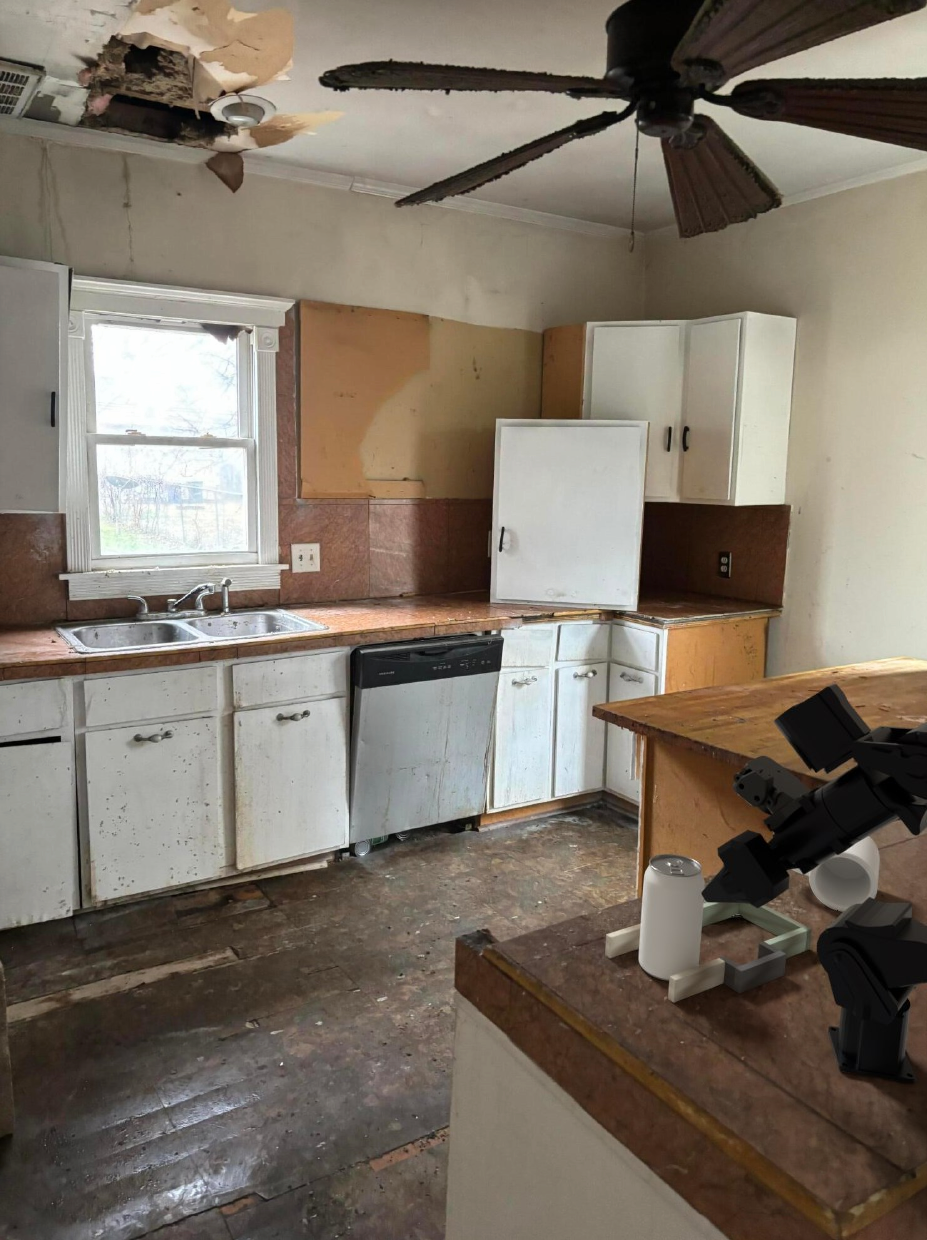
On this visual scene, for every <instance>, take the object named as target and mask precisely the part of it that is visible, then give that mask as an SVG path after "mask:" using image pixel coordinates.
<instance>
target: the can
mask: <svg viewBox="0 0 927 1240" xmlns="http://www.w3.org/2000/svg"><path fill="white" fill-rule="evenodd" d="M648 863H649V865H648V867H647V868H646V870H645V872H644V875H643V876H644V877H643V885H642V886H643V887H642V888H643V889H642V900H641V902H642V903H641V911H642V913H641V912H640V924H641V928H640V944H639V949H638V963H639V965H640V966H641V968H642V970H643V971H644V972H646V973H647V975H649V976H651V977H653V978H654V979H655V978H656V979H658V980H661V981H666V982H669V978H670V976H672V975H675V974H678V973H681V972H683V971H686V970H689V969H691V968H694V967H697V966H699V965H700V963H699V962H700V954H701V953H700V952H701V942H702V941H701V939H702V928H703V927H702V917H703V903H705V902H704V901H705V899H704V898H703V896H702V894H701V892H702V891H703V890H704V889H705V887H706V885H705V884H706V883H705V878H704V875H703V873H702V871H703V867H702V865H701V863H700V862H699V861H697V860H695V859H693V858H691V857H689V856H684V855H681V854H675V853H663V854H657V855H654V856H652V857H651V858H649V861H648Z"/></svg>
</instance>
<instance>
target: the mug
mask: <svg viewBox="0 0 927 1240" xmlns="http://www.w3.org/2000/svg"><path fill="white" fill-rule="evenodd" d="M791 871H793V872H796V873H798V874H801V875H803V874H802V872H801V871H800V869H799V868H798V869H791ZM879 874H880V851H879V849H878V846H877V844H876V842H875V841H874V839H872V838H871V836H868V837H866V838H864V839H863V840H861V841H859V842H858V843H856V844H854V845H853V846H852V847H850V848H849V849H848V850H846V851H844V852H843V853H841V854H839V855H835V856H833V857H832V858H830V859H828V860H826V861H825V862H823V863H821V864H820V865H818V866H817V867H816V868H814V869H813V870H811V871H810V872H808V873H806V874H804V875H803V876H807V877H808V880H809V885H810V888H811V890H812V891H811V892H813V894H814V896H815V897H816V898H817V899H818V900H819V902H821V903H822V904H823V905H824V906H826V907H828V908H829V909H832V910H834V911H837V910H838V912H842V913H843V912H844V911H845V910H846V909H847V908H849V907H850V906H852V905H855V904H862V903H863V902H864V901H865V900H866V899H867V898H868V897H871V898H873V899H875V898H876V896H877V893H878V888H879V887H878V885H879Z"/></svg>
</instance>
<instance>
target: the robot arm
mask: <svg viewBox="0 0 927 1240" xmlns="http://www.w3.org/2000/svg"><path fill="white" fill-rule="evenodd" d="M773 724H774V725H775V727H776V728H777V729H778V731H779V732H780V733H781V734H782V735H783V738H784V739H786V740H787V742H788V743H789V745H790V746H791V748H792V749H793V750H794V752H795V753H796V755H798V757H799V758H800V760H802V763H804V764H805V766H806V767H807V768H808V770H809V771H814V773H816V774H817V773H819V772H820V771H822V770H823V772H824V773H825V774H826V775H829V774H830V773H832V772H834V771H836V770H837V769H838V768H839V767H842V766H843V765H844V764H846V763H847V762H849V761H851V760H852V759H853V760H854V761H855V762H856V765H855V766H853V767H851V768H849V769H848V770H847V771H845V772H843V773H842V774H841V775H839V776H837V777H836V778H835V779H833V780H830V781H829V782H828V783H826V784H825V785H822V784H819V785H817V786H816V787H814V788H813V789H810V788H808V786H806V785H805V784H804V783H802V781H801V780H800V779H799V778H798V777H797V776H796V775H794V774H793V773H791V771H789V770H787V769H786V768H785V767H783V766H782V765H781V764H779V763H778V762H776V760H775V759H772V758H771V757H769V756H766V755H760V756H757V757H755V758H752V759H750V760H748V761H746V764H745V765H744V766H743V768H742V769H741V770H740V771H738V772H737V773H736V774H734V775H733V781H734V783H733V784H732V789H733V791H734V793H735V794H736V795H738V796H739V797H740V798H741V799H742V800H744V801H745V802H746V803H747V804H749V805H750V806H751V807H754V808H757V809H759V810H760V811H761V812H763V813H764V814H766V815H768V816H767V817H766V818H764V819H763V820H762V822H763V824H764V825H765V827H766V828H767V829H768V831H769V832H772V838H771V839H770V840H768V842H767V840H766V838H764V836H763V835H762V833H760V832H756V831H753V830H749V829H747V830H744V832H742V833H740V834H737V835H736V836H734V837H733V838H731V839H729V840H728V841H726V842H725V843H723V844H721V845H720V846H719V847H717V848H716V849H717V856H718V858H720V861H721V862H722V865H723V866H722V867H721V869H720V870H719V871H718V872H717V874H716V875H714V877H713V878H712V879H711V881H709V883H708V884H707V885H705V889H704V890H703V891H702V892H701V894H702V896H703V898H704V901H705V903H706V902H708V903H747V904H751V905H752V906H754V907H756V908H760V907H761V906H763V905H765V906H766V904H768V903H770V902H772V901H773V900H775V899H776V898H778V897H779V896H780V895H782V894H783V893H784V892H786V891H788V890H789V889H790V878H791V876H790V873H789V872H788V871H790V870H791V869H798V868H799V869H800V871H801V872H802V874H801V875H803V876H805V875H804V874H806V873H808V872H810V871H811V870H813V869H814V868H816V867H817V866H818V865H820V864H821V863H823V862H825V861H826V860H828V859H830V858H832V857H833V856H835V855H839V854H841V853H843V852H844V851H846V850H848V849H849V848H850V847H852V846H853V845H854V844H856V843H858V842H859V841H861V840H863V839H864V838H866V837H868V836H869V837H871V836H872V835H873V834H875V833H876V832H878V831H880V830H882V829H883V828H885V827H887V826H889V825H890V824H892V823H894V822H895V821H897V820H898V819H900V821H901V822H902V823H903V824H904V826H905V828H907V829H908V832H910V834H912V835H913V836H919V835H921V834H922V833H923V832H924V831H925V830H926V829H927V721H926V722H923V723H921V724H919V725H917V726H916V727H900V726H886V725H883V726H882V725H881V726H880V725H879V726H877V727H876V728H874V729H872V730H871V728H870V727H869V725H868V724H867V723H866V722H865V721H864V719H863V718H862V717H861V715H860V714H859V713H858V711H857V710H856V709H855V708H854V707H853V706H852V705H851V703H850V701H849V700H848V699H847V696H846V694H845V693H844V691H843V690H842V688H840V686H839V685H838V684H836V683H832V684H830V685H827V686H825V687H823V689H822V690H819V691H818V692H817V693H815V694H813V695H811V696H810V697H808V698H807V699H805V700H804V701H802V702H798V703H796V704H794V705H792V706H791V707H789V708H787V709H786V710H785V711H783V712H782V713H781V714H780V715H779V716H777V717H776V718H775V719H774V720H773ZM791 871H792V870H791ZM912 915H913V905H912V903H909V902H885V901H880V900H878V899H875V898H874V899H873V898H871V897H868V898H867V899H866V900H865V901H864V902H863V903H862V904H855V905H852V906H850V907H849V908H847V909H846V910H845V911H844V912H842V913H841V914H839V916H838V917H837V918H835V920H834V921H832V923H830V925H829V926H827V928H825V929H824V930H823V931H822V933H820V934H819V937H818V938H817V941H816V954H817V958H818V961H819V963H820V965H821V967H822V968H823V970H824V971H825V972H826V973H827V977H828V980H829V985H830V988H831V992H832V995H833V1000H834V1002H835V1005H836V1006H838V1007H840V1017H839V1023H838V1024H839V1025H838V1026H834V1025H833V1026H831V1025H829V1026H828V1027H827V1033H828V1037H829V1041H830V1043H831V1047H832V1051H833V1054H834V1057H835V1061H836V1064H837V1068H838V1069H839V1070H840V1071H841V1072H843V1073H849V1074H855V1075H860V1076H865V1077H866V1076H867V1077H872V1078H879V1079H883V1080H890V1081H891V1080H892V1081H897V1082H901V1083H902V1082H903V1083H909V1084H914V1083H916V1080H917V1079H916V1078H917V1076H916V1074H915V1071H914V1069H913V1067H912V1064H911V1062H910V1059H909V1057H908V1055H907V1053H906V1048H907V1039H908V1037H907V1036H908V1030H909V1022H910V1014H911V1005H912V1004H911V1002H910V999H909V996H911V994H912V992H913V991H914V990H916V988H917V987H918V986H919V985H921V984H922V985H923V984H927V925H926V924H924V923H922V922H920V921H918V919H917V920H916V919H915V918H913V917H912Z"/></svg>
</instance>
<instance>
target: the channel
mask: <svg viewBox="0 0 927 1240" xmlns="http://www.w3.org/2000/svg"><path fill="white" fill-rule="evenodd" d="M641 913H642V910H641V912H640V914H641ZM736 914H740V915H742V916H743V917H744V918H743V917H742V918H743V919H745V920H747V921H749V922H751V923H752V924H754V925H757V926H758V927H760V928H762V929H763V930H766V931H768V932H769V933H771V934H773V935H775V937H773V938H770V939H767V940H764V941H761V942H759V943H758V953H757V959H755V960H752V961H750V962H747V963H745V964H741V965H740V964H738V963H737V962H735V961H733V960H732V959H730V958H728V957H727V956H721V957H719V958H715V959H713V960H711V961H708V962H705V963H702V964H699V965H698V966H697V967H694V968H691V969H689V970H686V971H683V972H681V973H678V974H675V975H672V976H670V978H669V981H668V992H667V993H668V995H667V999H668V1000H669V1001H670V1002H672V1003H673V1004H674V1003H677V1002H680V1001H681V1000H683V999H687V998H690V997H692V996H694V995H697V994H700V993H702V992H705V991H708V990H710V989H713V988H715V987H717V986H719V985H722V984H724V985H725V986H727V987H729V988H730V989H732V990H734V991H735V992H737V993H738V994H742V993H744V992H747V991H749V990H752V989H754V988H757V987H759V986H761V985H764V984H766V983H769V982H772V981H774V980H775V979H776V980H777V979H778V978H779V979H780V978H781V977H783V976H785V974H786V973H785V972H786V962H787V961H786V959H788V958H791V957H793V956H796V955H798V954H801V953H803V952H804V953H805V952H806V951H808V950H810V949H811V938H812V930H813V929H812V928H810V927H808V925H807V926H806V925H805V924H803V923H801V922H798V921H797V920H795V919H793V918H791V917H789V916H787V915H785V914H784V913H781V912H779V911H778V910H776V909H773V908H771V907H769V906H768V905H766V904H765V905H763V906H761V907H760V908H756V907H754V906H752V905H751V904H747V903H708V902H706V901H705V902H704V903H703V917H702V928H704V927H706V926H710V925H712V924H715V923H718V922H720V921H724V920H727V919H730V918H732V917H731V916H733V915H736ZM736 916H737V915H736ZM733 917H734V916H733ZM640 928H641V923H638V924H635V925H632V926H628V927H625V928H623V929H619V930H616V931H613V932H609V933H606V935H605V949H604V952H605V953H604V955H605V957H606V958H608V959H613V958H615V957H618V956H620V955H624V954H627V953H630V952H632V951H637V950H639V944H640Z"/></svg>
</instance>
